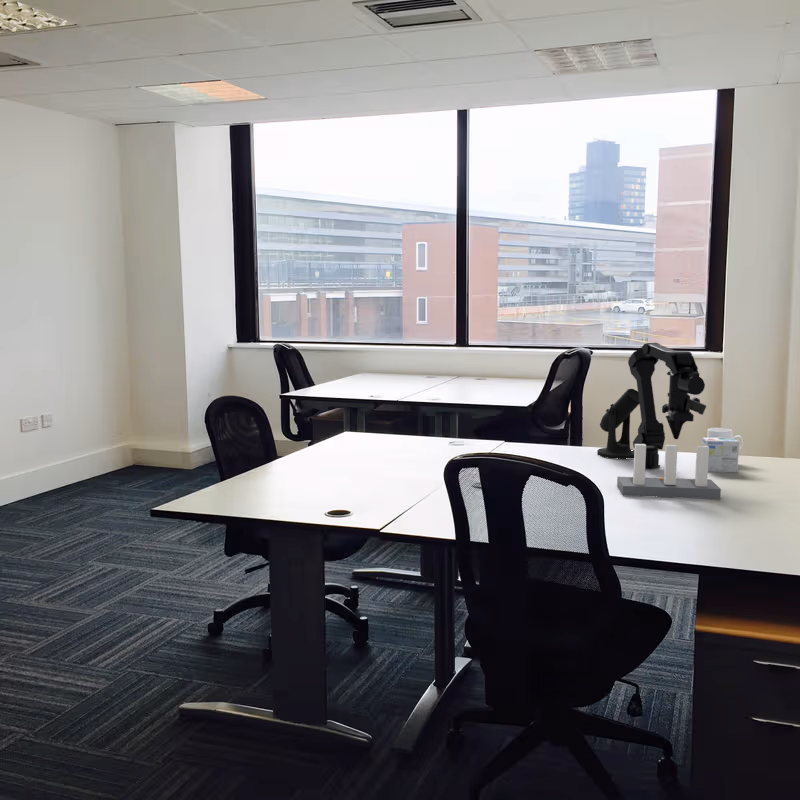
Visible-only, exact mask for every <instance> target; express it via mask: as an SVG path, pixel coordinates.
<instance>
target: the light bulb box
mask: <svg viewBox="0 0 800 800" xmlns="http://www.w3.org/2000/svg"><path fill="white" fill-rule="evenodd" d="M701 446H708V447H709V459H708V473H709V472H710V473H711V472H713V473H738V471H739V470H738V469H739V467H738V466H739V453H740V450H739V447H740V441H739V440H738V439H736V438H707V437H702V444H701Z"/></svg>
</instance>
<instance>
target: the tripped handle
mask: <svg viewBox="0 0 800 800" xmlns="http://www.w3.org/2000/svg"><path fill="white" fill-rule="evenodd" d="M664 453H665V454H664V468H663V469H664V473H663V474H664V475H663V478H664V484H665V485H676V478H677V463H678V462H677V461H678V460H677V459H678V445H677V444H665V451H664Z"/></svg>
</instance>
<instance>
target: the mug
mask: <svg viewBox="0 0 800 800" xmlns="http://www.w3.org/2000/svg"><path fill="white" fill-rule="evenodd" d="M733 435H734V433H733V429H731V428H725V427H710V428H707V433H706V436H707V437H706V438H735V439H736V438H739V439H740V441H741V442H740V443H741V444H740V445H739V451H740V450H741V449H742V448H743V445H744V438H743V436H741V435H739V434H738V435H734V436H733Z"/></svg>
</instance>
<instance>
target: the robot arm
mask: <svg viewBox="0 0 800 800" xmlns="http://www.w3.org/2000/svg"><path fill="white" fill-rule="evenodd" d="M659 360H660V361H662V362H663V363H664V364H665V366H666V367H667V368H668V369H669V371H668V372H666V375H667V376H669V385H668V386H669V389H668V392H667V397H668V403H665V404H664V405H662V407H661V408H662V409H661V412H662V413H663V414H666V413H668V414H667V415H665V418H666V420H667V424H668V426H669V429H670V431H671V433H672V437H673V439H674V440H679V437H680V435H681V431H682V429H683V426H684V424H685V423H686V422H694V413H692V412H691V411H693V412H695V413H698V414H699V415H702V416H703V415H704V413H705V411H706V409H707V405H706V404H704V403H701V400H700V398H698V397H694V396H698V395H700V394H702V393H703V391H704V390H705V386H706V384H705V380H704V379H703V378H702V377H700V372H699V370H698V369H699V368H698V366H697V363H696V361H695V359H694V355H693V353H692V352H691V351H688V350H674V349H672V348H670V347H667V346H664V345H662V344H660V343H658V342H646V343H643V345H642V346H641V347H640V348H638V349H636V350H635V351H633V352H632V354H631V355H630V356H629V358H628V362H627V363H628V367H629V371H630V374H631V376H633V378H634V379H635V381H636V386H637V387H636V388H637V391H638V396H639V411H640V419H641V421H640V424H639V426H638V429H637V435H636V437H635V438H634V440H633V441H632V444H633V445H632V446H633V449H635V444H645V445H646V460H645V469H649V470H652V469H654V468H655V469H656V468H659V467H661V465H660V464H659V462H660V461H659V460H660V454H659V450H661V451H662V450H663V449H664V444H665V440H666V436H665V435H666V433H665V427H664V426H665V425H664V424H663V422H660V421H659V420H658V419H657V413H656V405H655V399H654V396H655V395H654V390H653V384H652V383H653V381H652V378H653V374H654V372H655V370H656V364H657V363H658V362H659ZM689 394H690V395H694V396H693V398H691V396H690V395H689Z"/></svg>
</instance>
